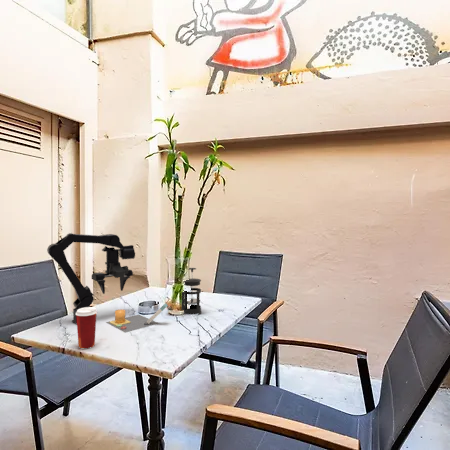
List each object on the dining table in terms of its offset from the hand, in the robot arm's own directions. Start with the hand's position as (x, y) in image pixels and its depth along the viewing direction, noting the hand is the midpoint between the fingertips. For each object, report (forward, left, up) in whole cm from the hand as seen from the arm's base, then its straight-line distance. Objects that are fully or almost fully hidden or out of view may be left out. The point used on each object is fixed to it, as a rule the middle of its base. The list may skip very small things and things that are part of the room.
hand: (112, 292), depth 165 cm
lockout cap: (-3, -13, -11) cm, 17 cm away
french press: (+31, -22, -12) cm, 40 cm away
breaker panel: (+1, -17, -12) cm, 21 cm away
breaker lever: (+5, -22, -11) cm, 25 cm away
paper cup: (-24, -27, -12) cm, 38 cm away
